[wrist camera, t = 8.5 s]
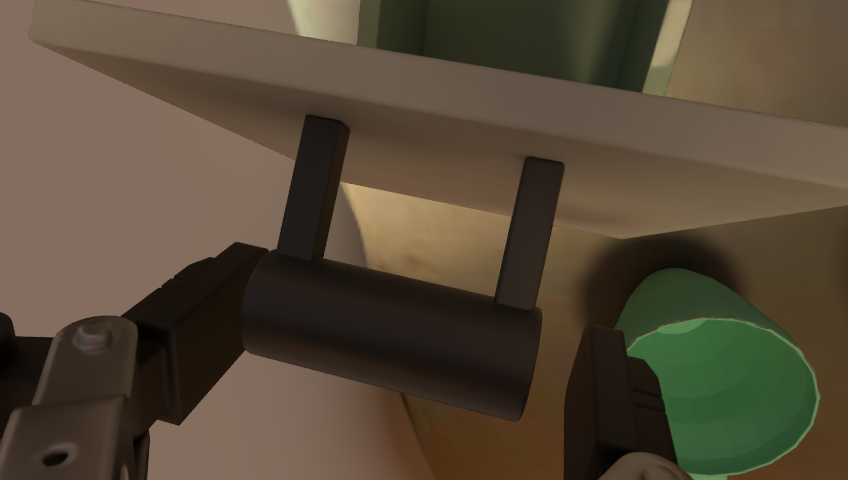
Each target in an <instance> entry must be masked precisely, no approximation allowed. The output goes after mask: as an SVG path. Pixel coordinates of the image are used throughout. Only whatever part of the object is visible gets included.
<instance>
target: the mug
mask: <svg viewBox="0 0 848 480" xmlns="http://www.w3.org/2000/svg"><path fill="white" fill-rule="evenodd" d="M614 329H618V330H622V331H623V332H624V338H625V344H626V350H627V356H631V357H636V358H640V359H644V360H645V361H646V362H647V364H648V365H649V366H650V367H651V369H652V370H653V371H654V373H655V374H656V375H657V377H658V379H659V383H660V387H661V392H662V399H663V400H664V405H665V409H666V411H665V414H667V418H668V422H669V426H670V431H671V435H672V439H673V443H674V448H675V452H676V456H677V461H678V465H679V467H681V468H682V469H683V470H684V471H686V472H687V473H688V474H689V475H690V476H691V477H692V478H693V479H694V480H727V475H736V474H743V473H746V472H749V471H751V470H754V469H757V468H760V467H763V466H766V465H769V464H772V463H773V462H775V461H776V460H778V459H779V458H781V457H782V456H784V455H785V454H786V453H788V452H789V451H791V450H792V449H794V448H795V447H797V446H798V444H799V443H800V442H801V440H802V439H803V438H804V436H805V435H806V434H807V432H808V431H809V430H810V429H811V427H812V426H813V425H814V422H815V418H816V414H817V410H818V406H819V403H820V399H821V398H820V393H819V387H818V382H817V377H816V372H815V370H814V369H813V367H812V365H811V364H810V362H809V361H808V360H807V358H806V357H805V355H804V354H803V352H802V351H801V350H800V348H799V347H798V345H797V344H796V342H795V341H794V340H793V339H792V337H791V336H790V335H789V334H787V333H786V332H785V331H784V330H782V329H781V328H780V327H779V326H778V325H776V324H775V323H774V322H773V321H772V320H770V319H769V318H768V317H767V316H766V315H764V314H763V313H762V312H761V311H759V310H758V309H757V308H756V307H754V306H753V305H752V304H751V303H749V302H748V301H747V300H745V299H744V298H742V297H741V296H740V295H738V294H737V293H735V292H734V291H732V290H731V289H729V288H728V287H726V286H724V285H723V284H721V283H719V282H717V281H716V280H714V279H712V278H709V277H707V276H704V275H701V274H699V273H696V272H693V271H690V270H687V269H684V268H667V269H663V270H658V271H656V272H654V273H652V274H651V275H649V276H647V277H646V278H645V279H644V280H643V281H642V282H641V283H640V284H639V285H638V287H637V288H636V289H635V290H634V292H633V293H632V294H631V296H630V297H629V299H628V301H627V303H626V305H625V307H624V309H623V311H622V313H621V315H620V318H619V320H618V322H617V324H616V326H615V328H614Z"/></svg>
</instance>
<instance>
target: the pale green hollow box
mask: <svg viewBox="0 0 848 480" xmlns="http://www.w3.org/2000/svg"><path fill="white" fill-rule="evenodd" d="M693 2H694V0H361V1H360V15H359V29H358V43H357V45H358V46H364V47H370V48H376V49H382V50H388V51H394V52H400V53H406V54H412V55H418V56H424V57H430V58H436V59H442V60H448V61H454V62H460V63H466V64H472V65H478V66H484V67H490V68H496V69H502V70H508V71H514V72H520V73H526V74H532V75H538V76H544V77H550V78H556V79H562V80H568V81H574V82H580V83H586V84H592V85H598V86H604V87H610V88H616V89H622V90H628V91H634V92H640V93H646V94H652V95H658V96H665V93H666V90H667V86H668V83H669V80H670V77H671V73H672V70H673V67H674V64H675V61H676V57H677V54H678V51H679V48H680V44H681V41H682V38H683V35H684V31H685V28H686V25H687V22H688V19H689V15H690V12H691V9H692V6H693Z"/></svg>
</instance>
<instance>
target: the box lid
mask: <svg viewBox="0 0 848 480" xmlns="http://www.w3.org/2000/svg"><path fill="white" fill-rule="evenodd" d="M28 36H29V39H30V40H32V41H33V42H34V43H37V44H39V45H41V46H43V47H46V48H48V49H50V50H52V51H54V52H57V53H59V54H61V55H63V56H66V57H68V58H70V59H72V60H75V61H77V62H79V63H81V64H83V65H85V66H88V67H90V68H92V69H94V70H97V71H99V72H101V73H103V74H106V75H108V76H110V77H112V78H114V79H116V80H119V81H121V82H123V83H125V84H128V85H130V86H132V87H135V88H137V89H139V90H141V91H143V92H145V93H148V94H150V95H152V96H154V97H156V98H159V99H161V100H163V101H165V102H168V103H170V104H172V105H174V106H176V107H179V108H181V109H183V110H185V111H187V112H190V113H192V114H194V115H196V116H198V117H201V118H203V119H205V120H207V121H209V122H212V123H214V124H216V125H218V126H221V127H223V128H225V129H227V130H229V131H232V132H234V133H236V134H238V135H241V136H243V137H245V138H247V139H249V140H252V141H254V142H256V143H259V144H261V145H263V146H265V147H267V148H269V149H272V150H274V151H276V152H279V153H280V154H283V155H285V156H287V157H289V158H292V159H294V160H296V162H295V166H294V171H293V176H292V180H291V185H290V190H289V194H288V199H287V204H286V208H285V213H284V218H283V222H282V227H281V232H280V236H279V241H278V246H277V249H275V250H271V251H270V252H268V253H267V254H266V255H265V256H264V257H263V258H262V259H261V260H260V262H259V263H258V264H257V266H256V268H255V269H254V271H253V273H252V275H251V277H250V280H249V282H248V285H247V287H246V290H245V293H244V297H243V301H242V305H241V310H240V317H239V335H240V340H241V343H242V346H243V347H244V349H245V350H246V351H248V352H249V353H251V354H254V355H258V356H262V357H266V358H269V359H274V360H277V361H281V362H285V363H289V364H293V365H297V366H301V367H304V368H308V369H312V370H316V371H320V372H324V373H327V374H331V375H336V376H339V377H343V378H347V379H351V380H355V381H359V382H362V383H366V384H370V385H374V386H378V387H382V388H386V389H389V390H393V391H397V392H401V393H405V394H409V395H413V396H416V397H420V398H424V399H428V400H432V401H436V402H440V403H444V404H447V405H451V406H455V407H459V408H463V409H467V410H471V411H474V412H478V413H482V414H486V415H490V416H494V417H498V418H502V419H505V420H509V421H513V422H515V421H519V419H520V418H521V416H522V414H523V412H524V409H525V405H526V402H527V398H528V395H529V391H530V386H531V382H532V378H533V373H534V368H535V363H536V358H537V353H538V347H539V341H540V334H541V326H542V312H541V309H540V308H538V307H536V306H535V305H536V301H537V296H538V291H539V287H540V282H541V277H542V273H543V268H544V264H545V259H546V254H547V250H548V245H549V240H550V236H551V231H552V226H553V225H555V226H560V227H565V228H570V229H575V230H580V231H585V232H589V233H594V234H599V235H604V236H609V237H614V238H619V239H626V238H632V237H639V236H646V235H652V234H659V233H666V232H673V231H679V230H686V229H693V228H699V227H706V226H713V225H720V224H726V223H733V222H740V221H747V220H753V219H760V218H767V217H773V216H780V215H787V214H794V213H800V212H807V211H814V210H820V209H827V208H834V207H841V206H847V205H848V127H844V126H838V125H832V124H826V123H820V122H814V121H808V120H802V119H796V118H790V117H784V116H778V115H772V114H766V113H760V112H754V111H748V110H742V109H736V108H730V107H724V106H718V105H712V104H706V103H700V102H694V101H688V100H682V99H676V98H670V97H664V96H658V95H652V94H646V93H640V92H634V91H628V90H622V89H616V88H610V87H604V86H598V85H592V84H586V83H580V82H574V81H568V80H562V79H556V78H550V77H544V76H538V75H532V74H526V73H520V72H514V71H508V70H502V69H496V68H490V67H484V66H478V65H472V64H466V63H460V62H454V61H448V60H442V59H436V58H430V57H424V56H418V55H412V54H406V53H400V52H394V51H388V50H382V49H376V48H370V47H364V46H358V45H352V44H346V43H340V42H334V41H328V40H322V39H316V38H310V37H304V36H298V35H292V34H286V33H280V32H273V31H268V30H261V29H255V28H249V27H244V26H237V25H232V24H226V23H220V22H213V21H207V20H202V19H195V18H190V17H184V16H177V15H172V14H166V13H160V12H154V11H147V10H142V9H136V8H130V7H123V6H117V5H112V4H105V3H100V2H94V1H88V0H35V5H34V10H33V14H32V19H31V24H30V28H29V33H28ZM340 181H342V182H345V183H350V184H355V185H360V186H365V187H370V188H375V189H379V190H384V191H389V192H394V193H399V194H404V195H409V196H414V197H419V198H423V199H428V200H433V201H438V202H443V203H448V204H453V205H458V206H462V207H467V208H472V209H477V210H482V211H487V212H492V213H497V214H502V215H506V216H511V217H512V219H511V223H510V228H509V232H508V237H507V242H506V246H505V251H504V256H503V260H502V265H501V269H500V274H499V279H498V283H497V288H496V293H495V297H492V296H487V295H483V294H479V293H474V292H470V291H465V290H461V289H457V288H452V287H448V286H443V285H439V284H435V283H430V282H426V281H421V280H417V279H412V278H408V277H404V276H399V275H395V274H390V273H386V272H382V271H377V270H373V269H368V268H364V267H359V266H355V265H351V264H346V263H342V262H337V261H333V260H328V259H324V258H323V256H324V251H325V247H326V242H327V238H328V233H329V228H330V224H331V219H332V215H333V210H334V205H335V200H336V195H337V191H338V186H339V182H340Z"/></svg>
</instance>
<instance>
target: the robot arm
mask: <svg viewBox="0 0 848 480" xmlns="http://www.w3.org/2000/svg"><path fill="white" fill-rule="evenodd" d="M268 252H269V250H268V249H266V248H261V247H257V246H253V245H248V244H244V243H240V242H235V243H233V244H232V245H231V246H230V247H228V248H227V249H226V250H224V251H223V252H222V253H220V254H219V255H218V256H217V257H215V258H212V257H209V258H206V259H204V260H201V261H198V262H195V263H193V264H190V265H189V266H187V267H186V268H184V269H183V270H182V271H180V272H179V273H178V274H176V275H175V276H174V278H173V279H170V280H168V281H167V282H166V283H164V284H163V285H162V287H161V288H158V289H156V290H155V291H154V292H152V293H151V294H150V295H148V296H147V297H146V298H144V299H143V300H142V301H141V302H139V303H138V304H136V305H135V306H134V307H132V308H131V309H130V310H128V311H127V312H126V313H124V314H123V315H121V316H120V317H118V316H95V317H90V318H85V319H82V320H79V321H76V322H74V323H72V324H70V325H68V326H66V327H64V328H63V329H62V330H60V331H59V332H58V333H57V334H56V336H55V337H20V336H15V332H14V327H13V323H12V320H11V318H10V317H9V316H8V315H6V314H4V313H1V312H0V480H147V472H148V459H149V446H150V435H149V428H150V427H151V426H152V425H153V424H154V422H155V421H156V420H161V421H164V422H168V423H171V424H175V425H178V426H179V425H180V424H181V423H182V422H183V421H184V419H185V418H186V417H187V416H188V415H189V413H191V412H192V410H193V409H194V408H195V407H196V406H197V405H198V404H199V402H200V401H201V400H202V399H203V398H204V397H205V396H206V394H207V393H208V392H209V391H210V390H211V389H212V387H213V386H214V385H215V384H216V383H217V382H218V381H219V379H220V378H221V377H222V376H223V375H224V374H225V372H226V371H227V370H228V369H229V368H230V367H231V366H232V365H233V363H234V362H235V361H236V360H237V359H238V358H239V357H240V355H241V354H242V353H243V352H244V351H245V349H244V347H243V346H242V343H241V340H240V335H239V317H240V310H241V305H242V301H243V297H244V293H245V290H246V287H247V285H248V282H249V280H250V277H251V275H252V273H253V271H254V269H255V268H256V266H257V264H258V263H259V262H260V260H261V259H262V258H263V257H264V256H265V255H266V254H267V253H268ZM665 411H666V409H665V405H664V400H663V399H662V392H661V387H660V383H659V379H658V377H657V375H656V374H655V373H654V371H653V370H652V369H651V367H650V366H649V365H648V364H647V362H646V361H645V360H644V359H640V358H636V357H631V356H627V350H626V344H625V338H624V332H623V331H622V330H618V329H613V328H609V327H604V326H600V325H596V324H591V323H587V324H586V326H585V329H584V331H583V334H582V338H581V341H580V344H579V348H578V351H577V354H576V358H575V361H574V364H573V368H572V371H571V374H570V378H569V381H568V385H567V390H566V396H565V403H564V480H694V479H693V478H692V477H691V476H690V475H689V474H688V473H687V472H686V471H684V470H683V469H682V468H681V467H679V465H678V461H677V456H676V452H675V448H674V443H673V439H672V435H671V431H670V426H669V422H668V418H667V414H665Z"/></svg>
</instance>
